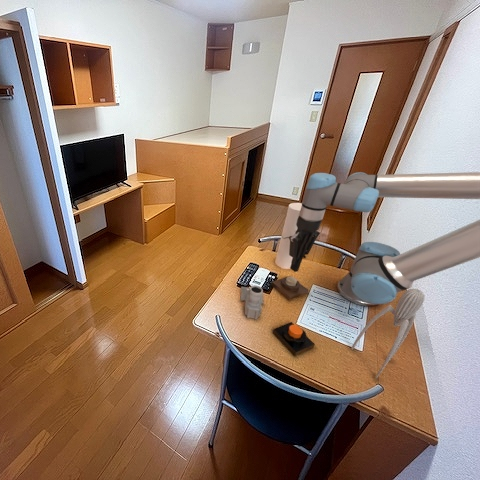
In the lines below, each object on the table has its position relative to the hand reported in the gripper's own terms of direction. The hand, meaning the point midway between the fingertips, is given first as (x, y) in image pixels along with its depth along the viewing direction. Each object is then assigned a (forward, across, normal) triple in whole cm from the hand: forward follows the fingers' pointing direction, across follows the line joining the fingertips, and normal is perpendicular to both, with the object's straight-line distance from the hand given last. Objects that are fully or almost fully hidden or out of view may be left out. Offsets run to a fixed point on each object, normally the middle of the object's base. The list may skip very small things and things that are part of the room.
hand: (294, 269), depth 105 cm
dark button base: (+11, +18, +20) cm, 29 cm away
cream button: (+7, 0, 0) cm, 7 cm away
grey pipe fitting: (+11, +20, +1) cm, 23 cm away
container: (+11, -12, -15) cm, 22 cm away
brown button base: (+11, 0, 0) cm, 11 cm away
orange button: (+7, +18, +20) cm, 28 cm away
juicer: (+11, 0, +36) cm, 38 cm away
